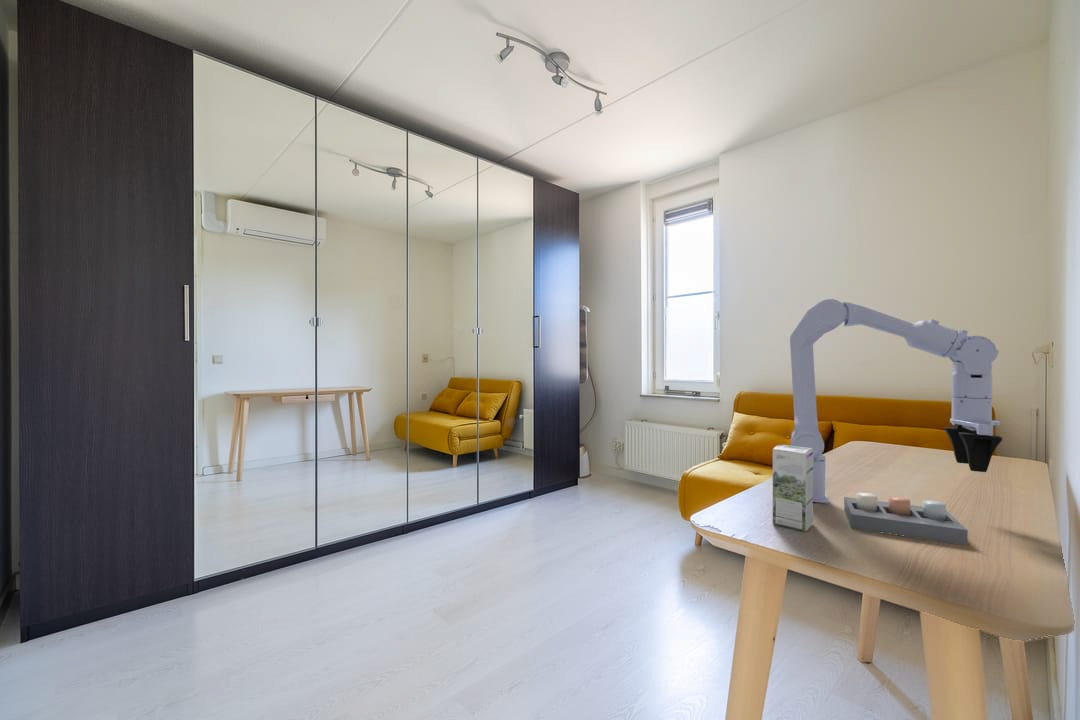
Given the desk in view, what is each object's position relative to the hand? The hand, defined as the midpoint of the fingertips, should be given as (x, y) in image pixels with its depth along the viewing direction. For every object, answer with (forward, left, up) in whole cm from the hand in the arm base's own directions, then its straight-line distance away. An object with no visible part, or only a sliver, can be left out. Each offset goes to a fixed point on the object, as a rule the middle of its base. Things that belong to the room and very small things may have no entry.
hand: (970, 467), depth 89 cm
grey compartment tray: (-13, -12, -10) cm, 20 cm away
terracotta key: (-13, -12, -8) cm, 19 cm away
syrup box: (-31, -21, -10) cm, 38 cm away
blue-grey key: (-8, -12, -8) cm, 16 cm away
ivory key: (-18, -12, -8) cm, 23 cm away
